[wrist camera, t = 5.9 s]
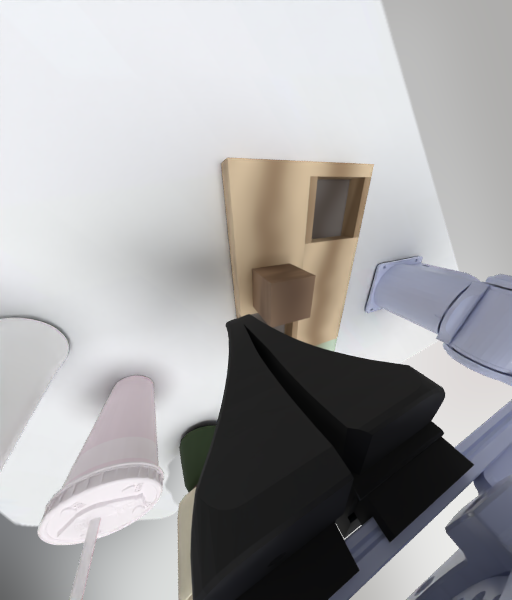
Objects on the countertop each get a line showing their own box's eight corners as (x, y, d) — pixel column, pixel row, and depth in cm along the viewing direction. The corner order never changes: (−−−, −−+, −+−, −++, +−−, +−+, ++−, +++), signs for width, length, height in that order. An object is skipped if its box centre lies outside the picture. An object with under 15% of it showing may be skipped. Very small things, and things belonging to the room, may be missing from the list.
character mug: (197, 460, 30) (211, 605, 19) (156, 457, 26) (143, 639, 15) (243, 413, 29) (284, 535, 18) (207, 403, 25) (234, 552, 14)
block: (289, 263, 18) (315, 275, 15) (287, 299, 20) (310, 317, 17) (251, 268, 17) (271, 283, 13) (253, 306, 19) (270, 328, 15)
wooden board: (356, 168, 19) (389, 160, 16) (321, 365, 32) (336, 381, 29) (221, 163, 14) (233, 151, 11) (244, 395, 27) (253, 417, 24)
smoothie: (86, 374, 17) (-95, 722, 6) (162, 359, 19) (147, 581, 8) (105, 417, 20) (11, 711, 8) (170, 399, 22) (167, 609, 11)
